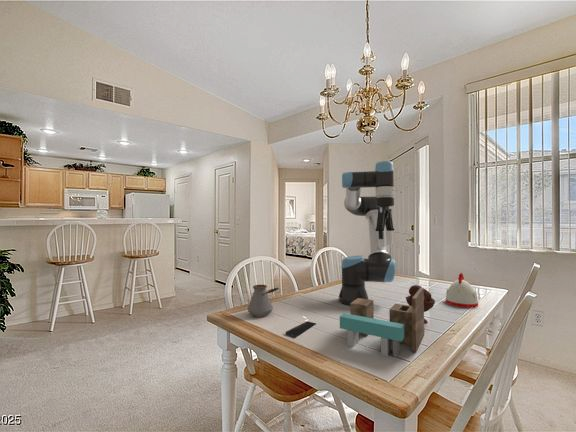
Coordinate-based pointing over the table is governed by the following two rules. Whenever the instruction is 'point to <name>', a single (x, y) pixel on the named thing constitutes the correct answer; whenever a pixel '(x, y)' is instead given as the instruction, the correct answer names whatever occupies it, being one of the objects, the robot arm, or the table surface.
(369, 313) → the block
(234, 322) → the table surface
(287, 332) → the phone
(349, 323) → the teal rail
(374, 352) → the table surface
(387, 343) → the grey stand
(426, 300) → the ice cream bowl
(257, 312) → the coffee pot
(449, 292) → the white and red dome
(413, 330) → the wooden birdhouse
